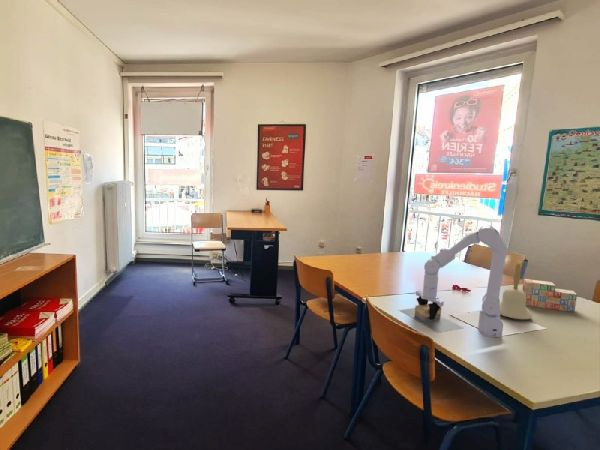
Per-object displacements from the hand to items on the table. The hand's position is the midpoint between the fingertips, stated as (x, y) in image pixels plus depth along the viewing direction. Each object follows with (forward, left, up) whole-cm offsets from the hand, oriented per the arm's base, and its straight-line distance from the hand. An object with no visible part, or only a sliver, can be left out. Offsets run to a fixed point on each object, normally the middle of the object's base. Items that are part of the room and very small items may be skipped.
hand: (427, 316), depth 151 cm
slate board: (-1, -1, -2) cm, 2 cm away
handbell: (+13, -42, -2) cm, 44 cm away
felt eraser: (0, 0, 0) cm, 0 cm away
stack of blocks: (+29, -66, -2) cm, 72 cm away
